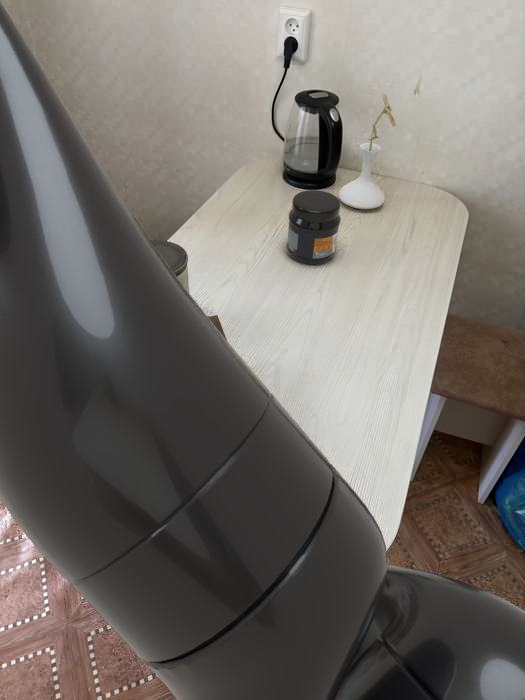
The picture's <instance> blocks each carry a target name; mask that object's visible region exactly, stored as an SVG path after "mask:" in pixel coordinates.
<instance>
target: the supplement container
mask: <svg viewBox="0 0 525 700" xmlns="http://www.w3.org/2000/svg"><path fill="white" fill-rule="evenodd" d="M341 204H342V203H341V199H340V198H338V196H336V195H335V194H333V193H331V192H328V191H324V190H320V189H319V190H318V189H309V190H308V189H307V190H302V191H299V192H298V193H296V194H295V195H294V196H293V197H292V203H291V209H290V211H289V213H288V226H287V227H288V228H287V239H286V252H287V253H288V255H289V256H290V257H291V258H292V259H294V260H296V261H298V262H300V263H303V264H308V265H318V264H323V263H326V262H328V261H330V260H331V259H332V258H333V257H334V255H335V254H336V247H337V240H338V236H339V235H338V234H339V229H340V224H341V222H342V221H341V219H342V218H341V214H340V211H341Z"/></svg>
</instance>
